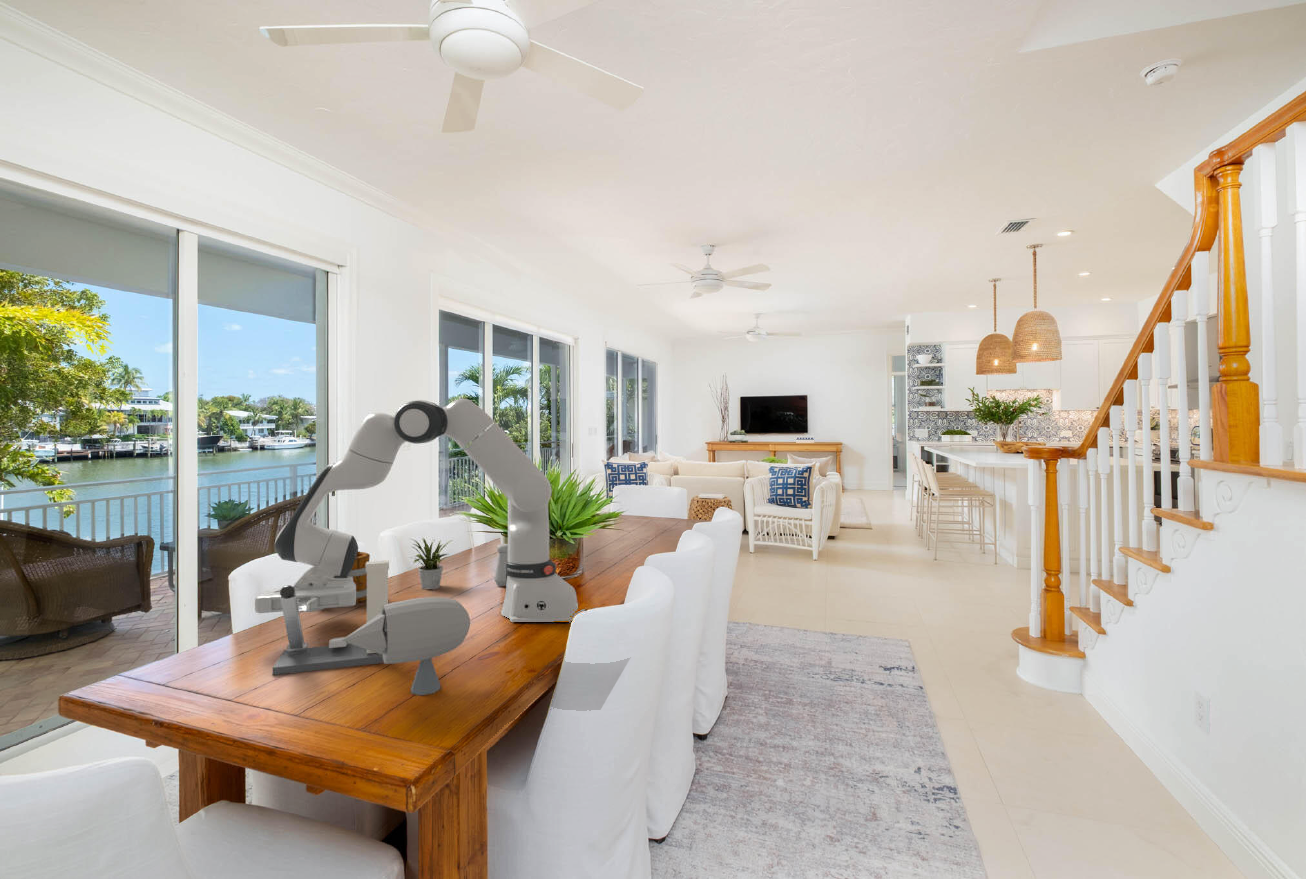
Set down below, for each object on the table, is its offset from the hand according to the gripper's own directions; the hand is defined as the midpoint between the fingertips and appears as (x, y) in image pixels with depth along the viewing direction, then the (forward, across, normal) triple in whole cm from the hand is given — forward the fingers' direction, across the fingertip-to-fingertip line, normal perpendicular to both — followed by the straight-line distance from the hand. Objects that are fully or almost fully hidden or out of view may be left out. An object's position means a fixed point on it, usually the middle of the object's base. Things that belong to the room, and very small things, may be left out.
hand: (301, 608), depth 131 cm
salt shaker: (-45, +48, +10) cm, 66 cm away
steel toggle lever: (+4, 0, +7) cm, 8 cm away
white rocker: (+4, +8, +7) cm, 11 cm away
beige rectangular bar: (+8, +16, +8) cm, 20 cm away
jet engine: (+27, +24, +10) cm, 37 cm away
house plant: (-49, +25, +10) cm, 56 cm away
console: (+6, +8, +10) cm, 14 cm away
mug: (-41, +3, +10) cm, 42 cm away
